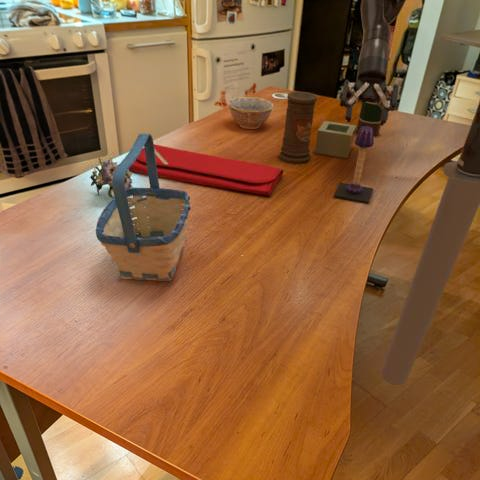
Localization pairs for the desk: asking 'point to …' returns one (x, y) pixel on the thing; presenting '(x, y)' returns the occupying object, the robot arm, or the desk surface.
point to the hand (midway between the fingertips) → (365, 122)
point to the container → (298, 127)
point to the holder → (335, 139)
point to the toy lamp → (361, 156)
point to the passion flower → (108, 176)
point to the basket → (144, 222)
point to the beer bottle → (370, 116)
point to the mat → (362, 197)
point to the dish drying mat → (211, 170)
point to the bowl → (250, 111)
